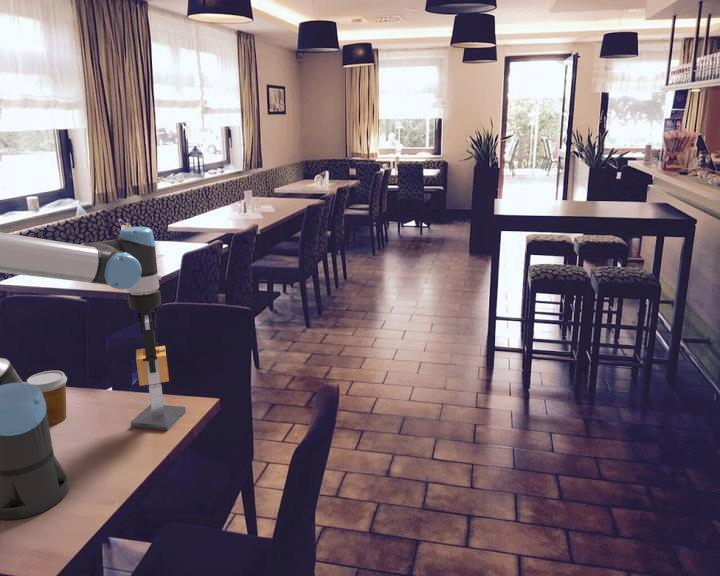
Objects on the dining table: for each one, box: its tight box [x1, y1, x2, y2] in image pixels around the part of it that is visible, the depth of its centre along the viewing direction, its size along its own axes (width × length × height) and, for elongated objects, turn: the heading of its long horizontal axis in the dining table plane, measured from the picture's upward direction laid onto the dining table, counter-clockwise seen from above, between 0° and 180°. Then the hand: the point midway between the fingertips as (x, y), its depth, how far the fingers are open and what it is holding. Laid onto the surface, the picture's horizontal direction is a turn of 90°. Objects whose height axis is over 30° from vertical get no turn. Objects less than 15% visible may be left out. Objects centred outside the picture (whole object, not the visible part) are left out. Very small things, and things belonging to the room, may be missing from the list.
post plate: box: [130, 383, 187, 432], centre depth 154 cm, size 10×10×10 cm
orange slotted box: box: [135, 345, 170, 387], centre depth 151 cm, size 7×7×7 cm
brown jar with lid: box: [26, 370, 68, 426], centre depth 155 cm, size 10×10×12 cm
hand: (154, 377), depth 152 cm, fingers closed on orange slotted box, 7 cm apart
